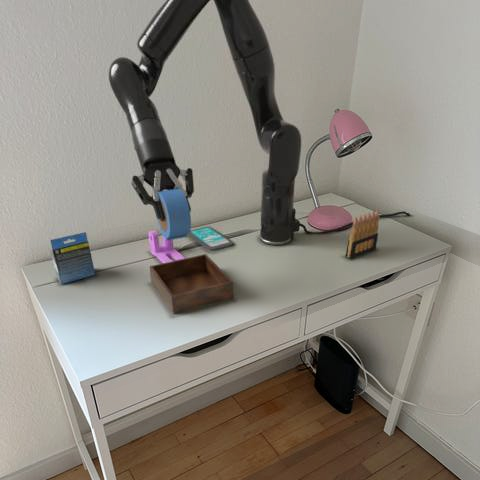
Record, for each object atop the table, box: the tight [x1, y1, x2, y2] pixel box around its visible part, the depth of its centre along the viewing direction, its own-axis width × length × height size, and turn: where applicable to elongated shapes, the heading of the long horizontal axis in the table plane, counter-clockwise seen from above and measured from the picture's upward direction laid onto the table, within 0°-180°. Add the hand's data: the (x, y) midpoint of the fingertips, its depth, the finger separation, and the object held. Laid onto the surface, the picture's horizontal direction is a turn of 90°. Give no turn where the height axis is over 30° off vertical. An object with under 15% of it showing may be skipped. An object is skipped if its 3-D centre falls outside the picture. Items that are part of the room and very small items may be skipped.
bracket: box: [148, 230, 186, 263], centre depth 126 cm, size 13×6×7 cm, turn 33°
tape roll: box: [156, 189, 192, 241], centre depth 101 cm, size 5×10×10 cm, turn 27°
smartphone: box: [187, 226, 234, 252], centre depth 138 cm, size 9×1×15 cm
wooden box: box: [149, 253, 234, 315], centre depth 112 cm, size 15×16×5 cm
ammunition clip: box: [345, 209, 380, 260], centre depth 128 cm, size 11×2×12 cm, turn 126°
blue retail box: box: [50, 231, 96, 285], centre depth 116 cm, size 9×4×12 cm, turn 123°
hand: (175, 217), depth 100 cm, fingers closed on tape roll, 5 cm apart
